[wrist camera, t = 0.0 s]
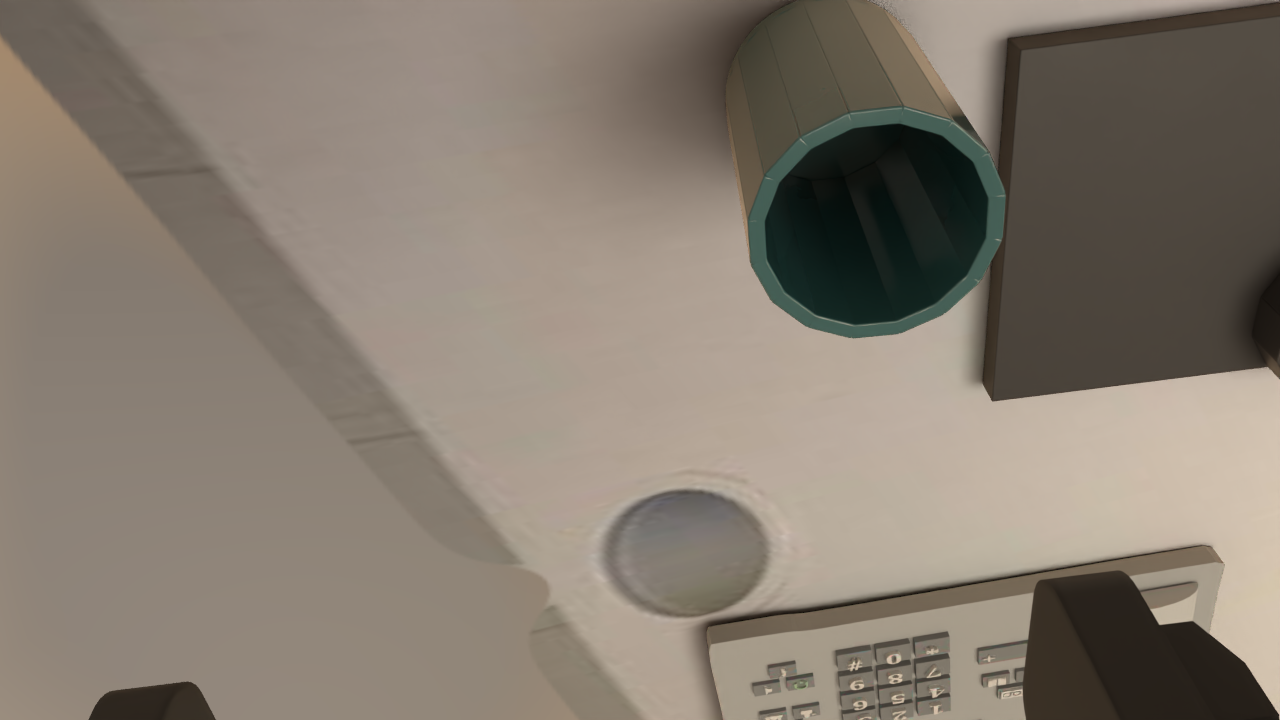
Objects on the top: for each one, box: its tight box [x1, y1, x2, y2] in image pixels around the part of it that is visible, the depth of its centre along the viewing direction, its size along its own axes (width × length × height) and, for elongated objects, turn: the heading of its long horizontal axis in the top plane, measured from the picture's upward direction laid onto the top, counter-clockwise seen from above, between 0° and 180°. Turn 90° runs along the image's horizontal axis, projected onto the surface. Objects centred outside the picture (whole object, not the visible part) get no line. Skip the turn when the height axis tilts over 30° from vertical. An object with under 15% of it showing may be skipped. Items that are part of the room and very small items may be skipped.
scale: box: [983, 3, 1280, 401], centre depth 39 cm, size 15×16×3 cm
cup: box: [725, 0, 1006, 338], centre depth 32 cm, size 6×6×10 cm
